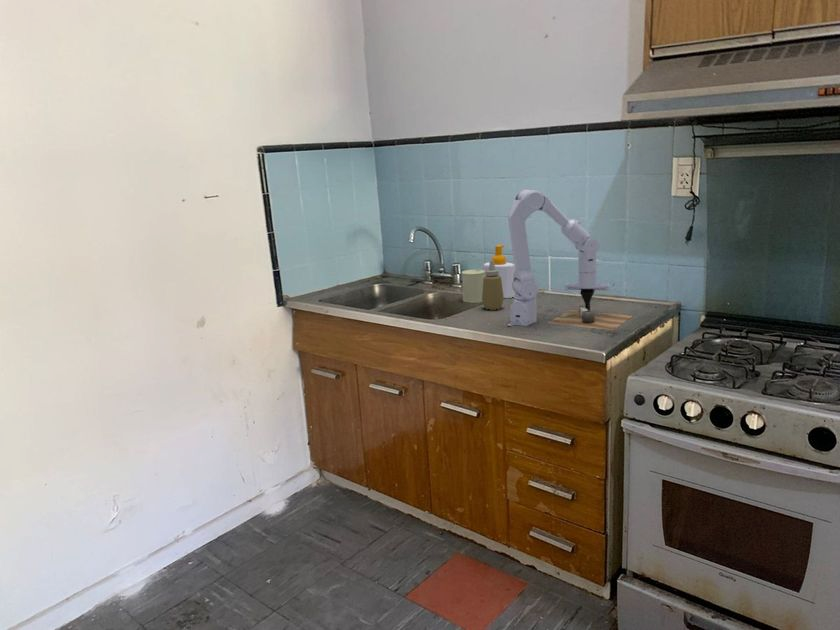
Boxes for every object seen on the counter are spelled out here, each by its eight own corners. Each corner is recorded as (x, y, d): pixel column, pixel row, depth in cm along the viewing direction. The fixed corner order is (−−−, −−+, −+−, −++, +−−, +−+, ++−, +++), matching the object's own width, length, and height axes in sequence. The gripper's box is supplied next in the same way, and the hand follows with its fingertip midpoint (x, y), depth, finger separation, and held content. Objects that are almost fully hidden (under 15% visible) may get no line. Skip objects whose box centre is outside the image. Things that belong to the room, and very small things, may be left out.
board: (613, 333, 194) (613, 329, 193) (547, 325, 206) (547, 322, 206) (632, 318, 208) (632, 315, 208) (569, 312, 221) (569, 309, 221)
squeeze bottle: (508, 309, 231) (506, 260, 227) (488, 312, 228) (487, 263, 224) (497, 305, 238) (496, 258, 234) (478, 307, 236) (476, 260, 231)
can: (490, 299, 249) (489, 269, 246) (476, 304, 242) (475, 273, 239) (472, 296, 255) (471, 267, 252) (457, 301, 248) (456, 271, 245)
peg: (595, 322, 202) (595, 313, 202) (583, 322, 203) (583, 314, 202) (587, 312, 215) (587, 304, 214) (575, 313, 215) (575, 304, 214)
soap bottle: (519, 295, 252) (518, 245, 247) (510, 299, 246) (509, 248, 241) (489, 292, 260) (488, 244, 255) (480, 297, 253) (478, 247, 248)
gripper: (611, 269, 210) (611, 309, 213) (568, 268, 216) (568, 307, 219) (608, 273, 204) (607, 314, 207) (563, 272, 210) (563, 312, 213)
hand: (587, 310), depth 213 cm, fingers closed, pressing on peg
